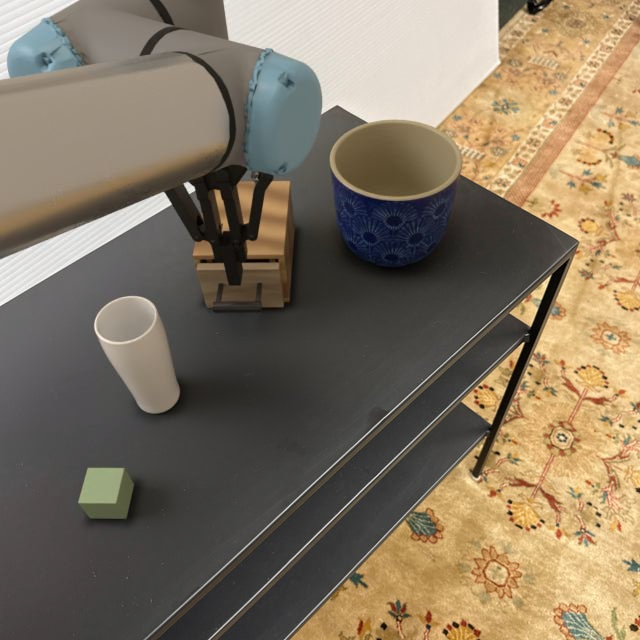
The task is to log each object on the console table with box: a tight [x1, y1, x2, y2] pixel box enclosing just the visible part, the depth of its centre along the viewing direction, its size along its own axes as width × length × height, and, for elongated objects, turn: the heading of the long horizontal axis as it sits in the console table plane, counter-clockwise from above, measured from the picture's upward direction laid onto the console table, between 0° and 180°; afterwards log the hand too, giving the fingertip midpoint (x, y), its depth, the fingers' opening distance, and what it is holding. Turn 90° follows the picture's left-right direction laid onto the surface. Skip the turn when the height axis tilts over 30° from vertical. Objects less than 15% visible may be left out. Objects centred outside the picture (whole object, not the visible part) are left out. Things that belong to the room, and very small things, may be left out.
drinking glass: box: [93, 295, 181, 415], centre depth 73 cm, size 7×7×15 cm
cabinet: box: [192, 180, 296, 303], centre depth 89 cm, size 15×12×9 cm
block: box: [78, 467, 135, 520], centre depth 69 cm, size 4×4×4 cm
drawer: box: [196, 259, 285, 314], centre depth 86 cm, size 18×10×7 cm, turn 179°
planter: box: [329, 119, 464, 268], centre depth 89 cm, size 17×17×15 cm
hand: (236, 277), depth 79 cm, fingers closed
